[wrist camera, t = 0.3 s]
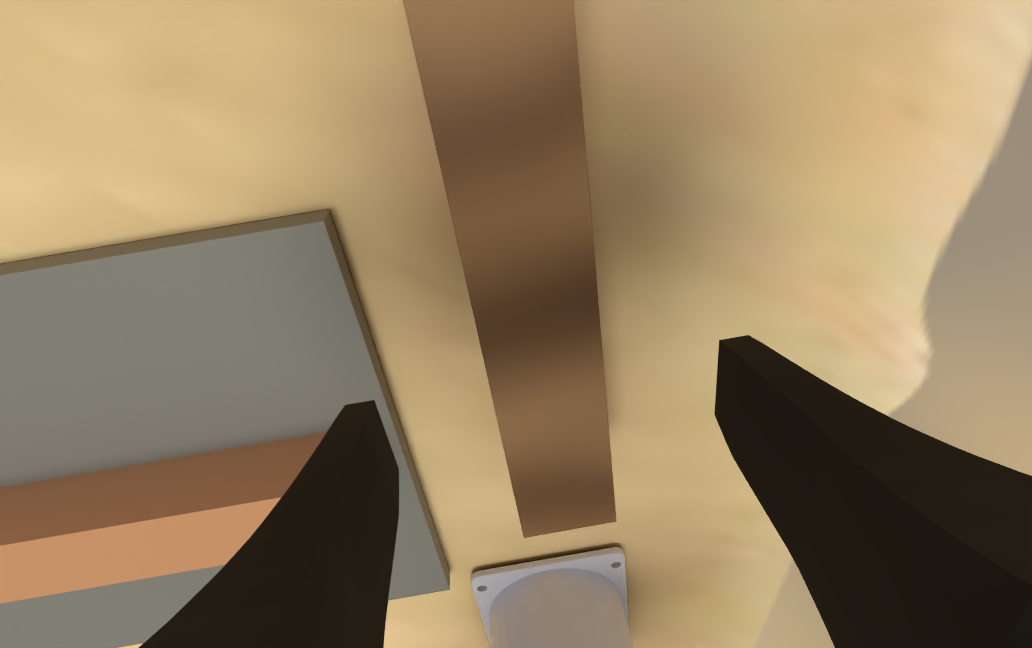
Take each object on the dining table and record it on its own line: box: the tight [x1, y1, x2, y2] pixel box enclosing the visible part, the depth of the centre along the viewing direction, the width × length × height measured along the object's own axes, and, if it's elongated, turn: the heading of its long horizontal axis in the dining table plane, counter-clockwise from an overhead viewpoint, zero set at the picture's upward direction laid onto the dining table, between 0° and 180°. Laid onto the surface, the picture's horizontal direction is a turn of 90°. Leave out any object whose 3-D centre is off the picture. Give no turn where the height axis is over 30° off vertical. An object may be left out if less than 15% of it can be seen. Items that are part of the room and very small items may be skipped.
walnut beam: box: [403, 0, 616, 538], centre depth 19 cm, size 18×4×5 cm, turn 8°
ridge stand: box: [0, 209, 450, 648], centre depth 23 cm, size 20×22×4 cm
